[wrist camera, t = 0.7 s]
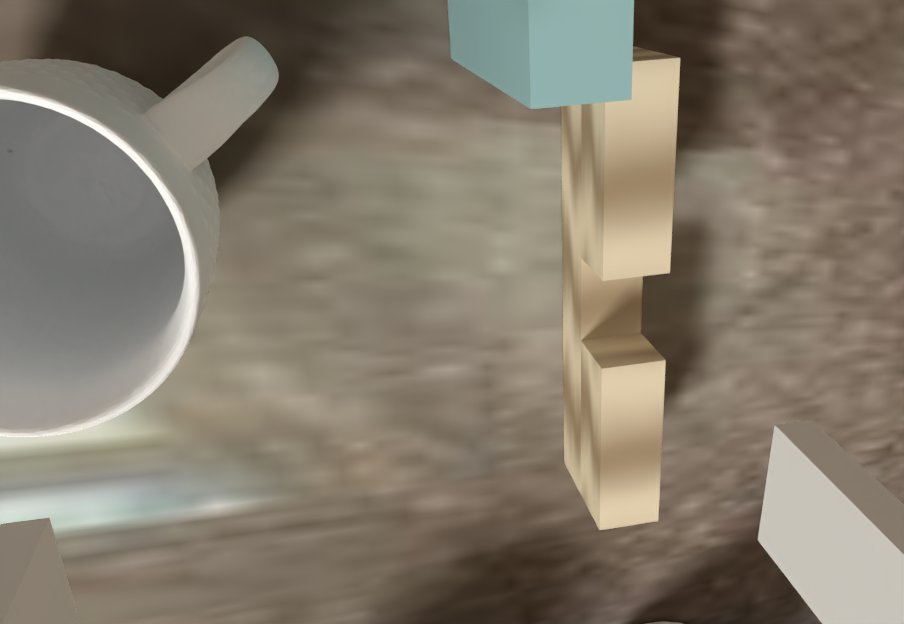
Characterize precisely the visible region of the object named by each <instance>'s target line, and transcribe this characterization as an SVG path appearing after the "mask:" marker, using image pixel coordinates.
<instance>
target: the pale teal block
mask: <svg viewBox="0 0 904 624" xmlns="http://www.w3.org/2000/svg"><path fill="white" fill-rule="evenodd" d="M448 16H449V32H450V49H451V59H452V60H454V61H456V62H457V63H459V64H460V65H462V66H463V67H465V68H467V69H468V70H470V71H471V72H473V73H474V74H476V75H478V76H479V77H481V78H482V79H484V80H486V81H487V82H489V83H490V84H492V85H493V86H495V87H497V88H498V89H500V90H501V91H503V92H504V93H506V94H508V95H509V96H511V97H512V98H514V99H515V100H517V101H519V102H520V103H522V104H523V105H525V106H526V107H528V108H530V109H538V108H549V107H559V106H570V105H581V104H592V103H603V102H614V101H624V100H632V63H633V24H634V0H448Z"/></svg>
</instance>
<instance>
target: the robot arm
mask: <svg viewBox="0 0 904 624" xmlns="http://www.w3.org/2000/svg"><path fill="white" fill-rule="evenodd" d="M758 541H759V542H760V544H761V545H762V546H763V548H764V549H765V550H766V551H767V553H768V554H769V555H770V557H771V558H772V559H773V561H774V562H775V563H776V564H777V566H778V567H779V568H780V570H781V571H782V572H783V573H784V575H785V576H786V577H787V579H788V580H789V581H790V583H791V584H792V585H793V586H794V588H795V589H796V590H797V592H798V593H799V594H800V595H801V597H802V598H803V599H804V601H805V602H806V603H807V605H808V606H809V607H810V608H811V610H812V611H813V612H814V614H815V615H816V616H817V618H818V619H819V620H820V621H821V623H822V624H904V504H902V503H901V502H900V501H899V500H898V499H897V498H896V497H895V496H894V495H893V494H892V493H891V492H889V491H888V490H887V489H886V488H885V487H884V486H883V485H882V484H881V483H880V482H879V481H878V480H876V479H875V478H874V477H873V476H872V475H871V474H870V473H869V472H868V471H867V470H866V469H864V468H863V467H862V466H861V465H860V464H859V463H858V462H857V461H856V460H855V459H854V458H853V457H851V456H850V455H849V454H848V453H847V452H846V451H845V450H844V449H843V448H842V447H841V446H840V445H838V444H837V443H836V442H835V441H834V440H833V439H832V438H831V437H830V436H829V435H828V434H827V433H825V432H824V431H823V430H822V429H821V428H820V427H819V426H818V425H817V424H816V423H815V422H814V421H812V420H808V421H801V422H793V423H785V424H777V425H775V427H774V433H773V440H772V447H771V454H770V460H769V467H768V474H767V480H766V487H765V494H764V501H763V507H762V514H761V521H760V528H759V534H758ZM0 624H81V623H80V620H79V616H78V613H77V610H76V606H75V603H74V599H73V596H72V593H71V589H70V586H69V583H68V579H67V576H66V573H65V569H64V566H63V562H62V559H61V556H60V552H59V549H58V546H57V542H56V539H55V535H54V532H53V529H52V525H51V522H50V519H49V518H45V519H37V520H29V521H21V522H14V523H6V524H1V525H0Z"/></svg>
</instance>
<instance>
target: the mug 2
mask: <svg viewBox="0 0 904 624" xmlns="http://www.w3.org/2000/svg"><path fill="white" fill-rule="evenodd" d="M645 624H683V623H680V622H667V621H659V622H652V623H645Z"/></svg>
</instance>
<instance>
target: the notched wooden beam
mask: <svg viewBox="0 0 904 624" xmlns="http://www.w3.org/2000/svg"><path fill="white" fill-rule="evenodd" d="M679 76H680V57H676V56H672V55H668V54H664V53H659V52H655V51H651V50H647V49H643V48H639V47H635V46H633V63H632V100H624V101H614V102H603V103H592V104H581V105H570V106H561V115H562V239H563V363H564V463H565V465H566V467H567V469H568V471H569V472H570V474H571V476H572V478H573V480H574V482H575V484H576V486H577V488H578V490H579V492H580V494H581V495H582V497H583V499H584V501H585V503H586V505H587V507H588V509H589V511H590V513H591V515H592V517H593V519H594V520H595V522H596V524H597V526H598V528H599V530H604V529H611V528H617V527H623V526H629V525H636V524H642V523H648V522H654V521H658V512H659V492H660V471H661V450H662V429H663V409H664V388H665V367H666V360H665V359H664V358H663V357H662V355H661V354H660V353H659V352H658V351H657V350H656V349H655V348H654V347H653V346H652V344H651V343H650V342H649V341H648V340H647V339H646V338H645V337H644V336H643V335H642V334H641V317H642V287H643V276H649V275H658V274H666V273H670V263H671V242H672V221H673V201H674V180H675V159H676V138H677V118H678V97H679Z"/></svg>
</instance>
